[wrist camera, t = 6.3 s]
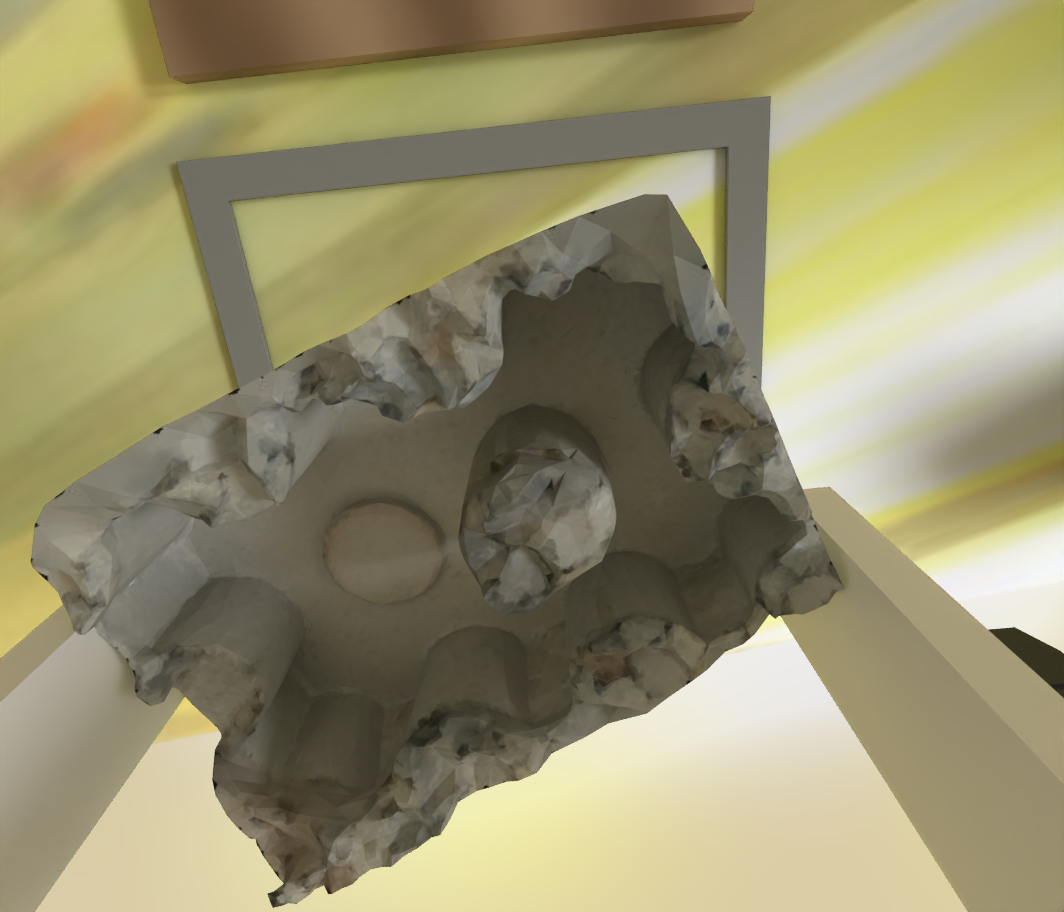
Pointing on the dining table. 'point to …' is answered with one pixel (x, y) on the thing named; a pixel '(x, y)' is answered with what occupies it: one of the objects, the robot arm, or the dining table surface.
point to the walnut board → (394, 29)
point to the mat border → (480, 153)
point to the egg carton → (448, 539)
